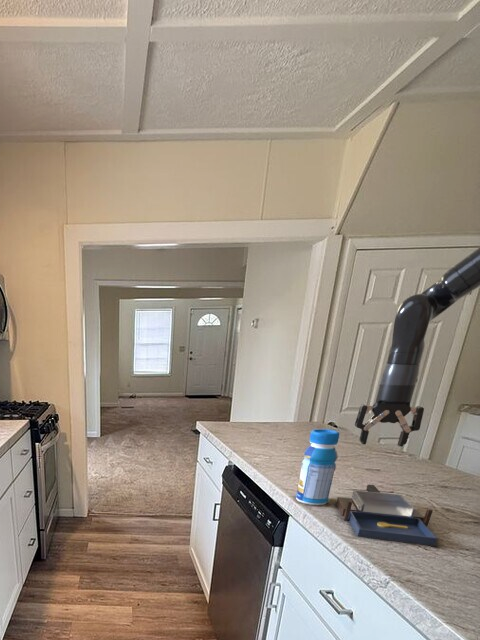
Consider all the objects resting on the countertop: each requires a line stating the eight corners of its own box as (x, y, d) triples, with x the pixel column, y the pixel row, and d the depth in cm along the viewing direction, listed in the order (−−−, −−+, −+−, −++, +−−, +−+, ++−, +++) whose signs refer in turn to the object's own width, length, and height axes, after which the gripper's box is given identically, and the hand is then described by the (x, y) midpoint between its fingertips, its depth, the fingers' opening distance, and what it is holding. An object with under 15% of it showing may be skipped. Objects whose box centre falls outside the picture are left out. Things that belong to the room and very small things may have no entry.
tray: (416, 525, 99) (419, 518, 98) (435, 546, 88) (438, 538, 88) (347, 517, 104) (349, 510, 103) (357, 536, 93) (359, 529, 93)
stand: (409, 511, 107) (415, 493, 105) (426, 530, 96) (433, 510, 94) (335, 503, 113) (339, 486, 111) (344, 520, 102) (348, 501, 100)
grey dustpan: (391, 495, 112) (393, 486, 112) (412, 518, 97) (415, 509, 96) (346, 490, 116) (348, 482, 115) (360, 512, 100) (362, 503, 100)
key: (378, 526, 97) (378, 525, 97) (375, 522, 99) (376, 521, 99) (408, 530, 95) (409, 528, 95) (405, 526, 97) (406, 524, 97)
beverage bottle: (314, 508, 110) (329, 435, 102) (288, 498, 117) (300, 430, 109) (334, 503, 113) (350, 432, 105) (308, 494, 120) (322, 427, 112)
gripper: (425, 382, 104) (408, 443, 110) (362, 381, 108) (348, 440, 115) (437, 384, 97) (417, 450, 103) (369, 383, 102) (354, 446, 108)
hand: (381, 444), depth 109 cm, fingers open, 8 cm apart
